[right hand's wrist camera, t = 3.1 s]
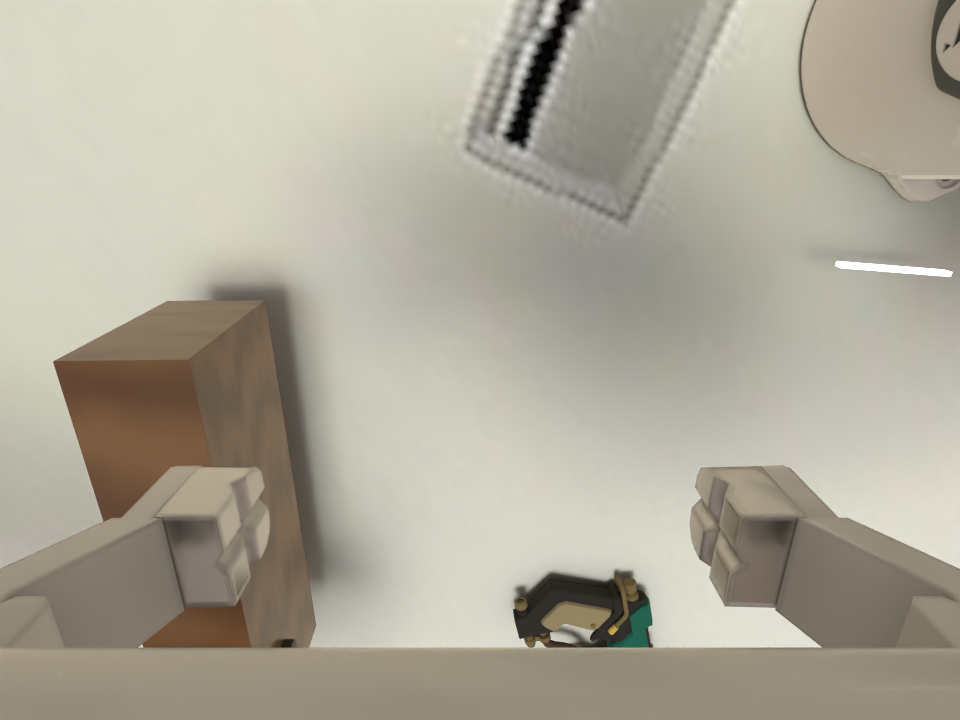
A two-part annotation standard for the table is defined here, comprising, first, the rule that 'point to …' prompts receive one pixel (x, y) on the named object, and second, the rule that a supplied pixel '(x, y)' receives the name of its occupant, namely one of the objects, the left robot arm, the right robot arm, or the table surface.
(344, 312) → the table surface
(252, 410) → the box
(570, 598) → the spray gun
